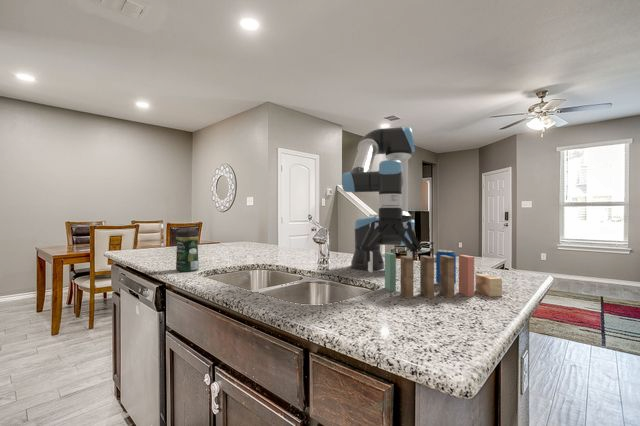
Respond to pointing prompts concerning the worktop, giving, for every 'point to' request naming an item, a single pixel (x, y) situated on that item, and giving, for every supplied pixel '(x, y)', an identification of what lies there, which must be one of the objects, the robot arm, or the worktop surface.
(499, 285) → the oak block
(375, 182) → the robot arm
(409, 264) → the tile
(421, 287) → the tile
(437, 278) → the blue rectangular box
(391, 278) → the green tile
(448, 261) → the tile
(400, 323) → the worktop surface
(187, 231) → the coffee jar
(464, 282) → the red end tile
